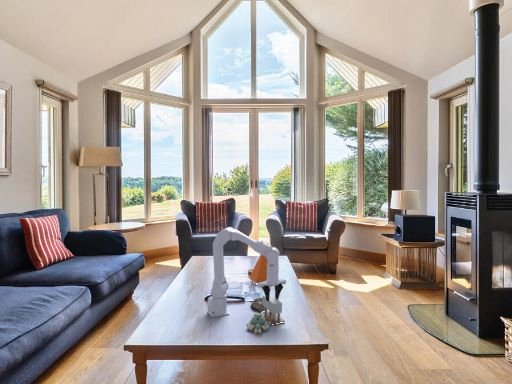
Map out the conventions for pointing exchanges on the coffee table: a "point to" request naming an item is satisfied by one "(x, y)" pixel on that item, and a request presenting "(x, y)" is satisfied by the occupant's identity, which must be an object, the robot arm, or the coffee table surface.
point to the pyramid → (260, 270)
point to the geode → (258, 305)
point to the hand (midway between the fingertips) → (272, 299)
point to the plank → (272, 304)
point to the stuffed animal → (257, 323)
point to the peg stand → (272, 317)
